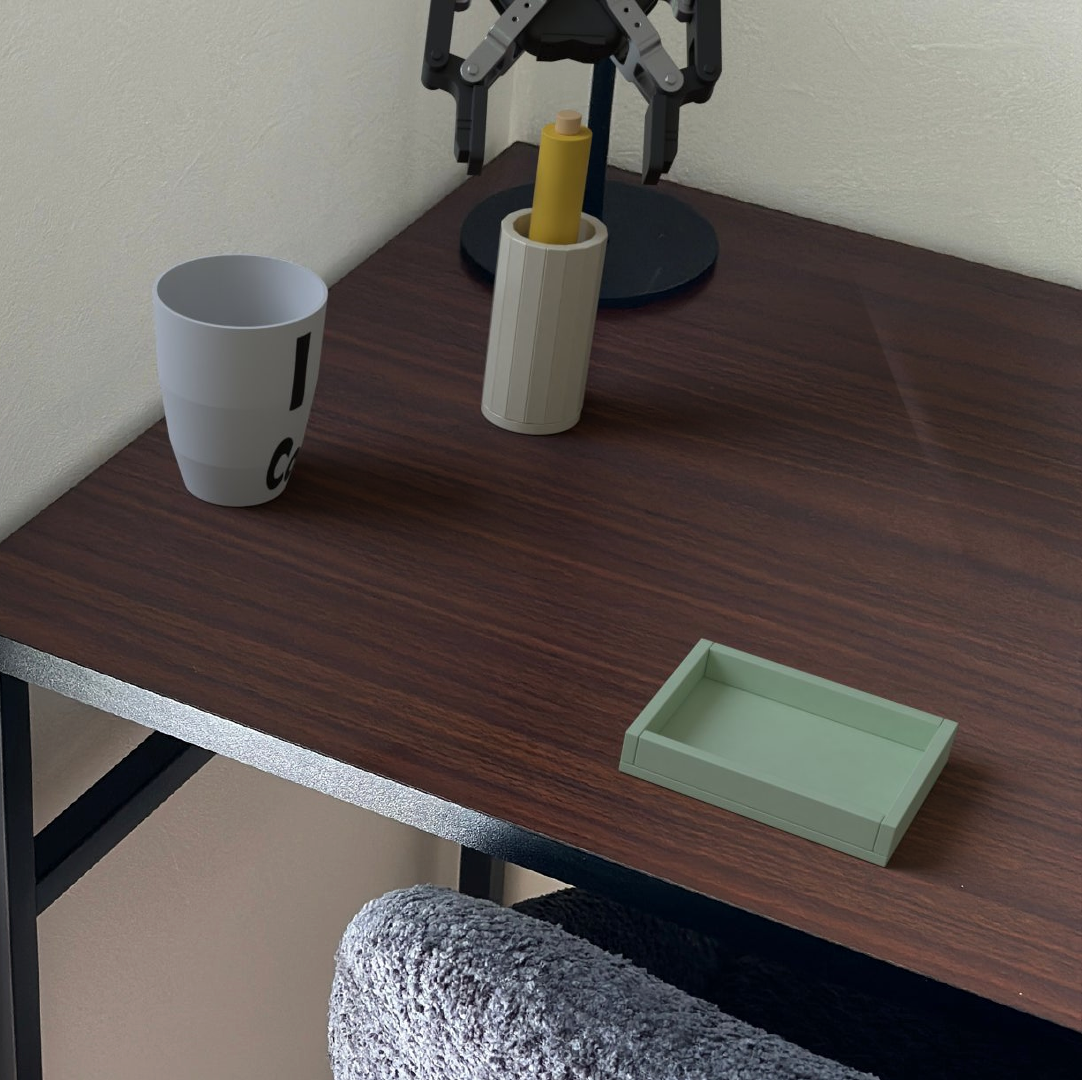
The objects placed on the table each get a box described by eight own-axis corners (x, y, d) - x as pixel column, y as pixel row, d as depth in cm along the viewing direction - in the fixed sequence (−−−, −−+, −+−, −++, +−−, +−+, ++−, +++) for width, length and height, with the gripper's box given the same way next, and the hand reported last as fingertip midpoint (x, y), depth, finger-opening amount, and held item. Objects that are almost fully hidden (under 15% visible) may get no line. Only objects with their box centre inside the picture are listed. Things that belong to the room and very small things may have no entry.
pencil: (553, 391, 110) (592, 106, 100) (556, 412, 108) (596, 124, 98) (507, 389, 110) (542, 104, 100) (509, 410, 108) (545, 122, 98)
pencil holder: (577, 390, 111) (603, 209, 105) (583, 437, 107) (611, 251, 101) (479, 385, 111) (499, 204, 105) (482, 432, 107) (503, 246, 101)
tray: (947, 761, 86) (959, 722, 85) (884, 868, 81) (896, 827, 79) (693, 675, 91) (701, 637, 89) (618, 770, 85) (625, 731, 84)
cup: (303, 531, 99) (314, 336, 93) (136, 512, 100) (136, 318, 94) (326, 450, 105) (338, 262, 99) (169, 433, 106) (171, 245, 100)
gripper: (440, -197, 98) (421, 132, 97) (743, -184, 98) (728, 148, 96) (430, -108, 106) (411, 198, 104) (711, -96, 105) (697, 213, 104)
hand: (563, 174), depth 100 cm, fingers open, 8 cm apart
